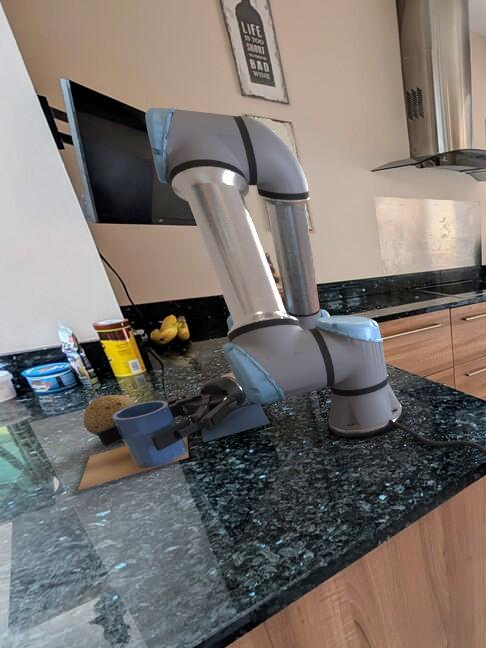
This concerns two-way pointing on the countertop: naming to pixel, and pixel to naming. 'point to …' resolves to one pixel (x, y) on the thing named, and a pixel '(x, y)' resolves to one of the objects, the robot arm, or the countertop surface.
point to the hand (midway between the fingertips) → (128, 441)
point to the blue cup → (147, 432)
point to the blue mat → (237, 422)
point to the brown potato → (104, 412)
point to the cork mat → (114, 466)
